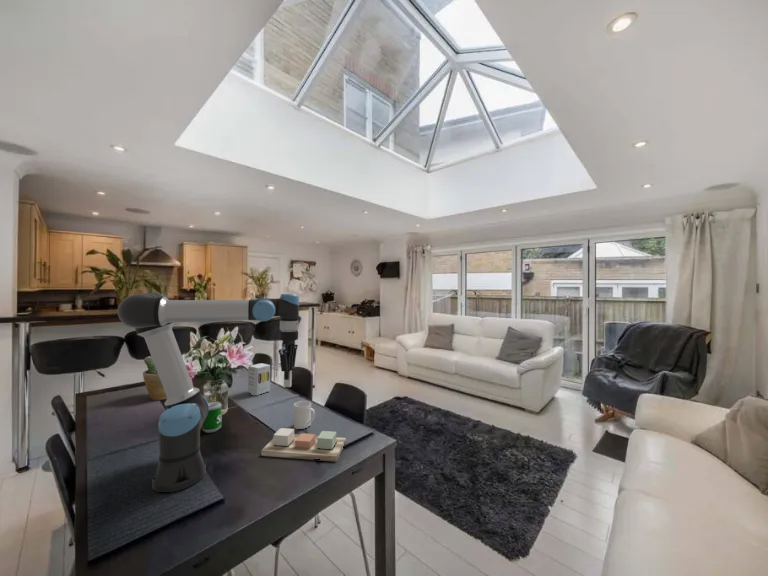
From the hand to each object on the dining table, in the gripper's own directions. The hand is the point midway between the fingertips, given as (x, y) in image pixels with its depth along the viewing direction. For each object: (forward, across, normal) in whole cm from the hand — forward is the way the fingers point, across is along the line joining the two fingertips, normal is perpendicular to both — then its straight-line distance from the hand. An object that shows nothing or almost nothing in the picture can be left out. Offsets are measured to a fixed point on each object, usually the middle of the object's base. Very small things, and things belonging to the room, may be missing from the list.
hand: (287, 386), depth 130 cm
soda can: (+24, +4, +38) cm, 45 cm away
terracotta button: (+23, -4, -10) cm, 25 cm away
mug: (+23, +14, -3) cm, 27 cm away
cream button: (+21, -4, -1) cm, 22 cm away
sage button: (+21, -4, -19) cm, 29 cm away
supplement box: (+24, +52, +44) cm, 72 cm away
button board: (+23, -4, -10) cm, 26 cm away
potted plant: (+25, +36, +95) cm, 105 cm away
